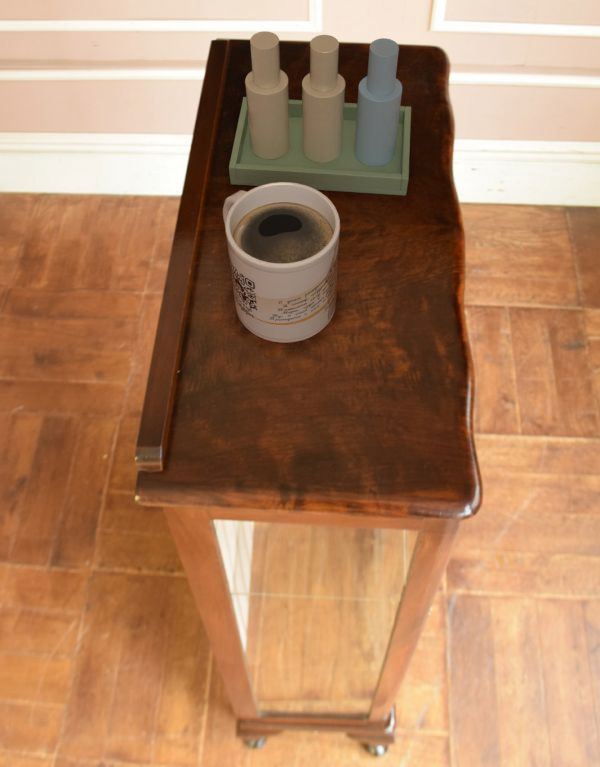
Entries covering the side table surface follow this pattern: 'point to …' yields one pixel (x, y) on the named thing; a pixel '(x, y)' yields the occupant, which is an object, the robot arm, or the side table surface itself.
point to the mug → (283, 259)
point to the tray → (322, 176)
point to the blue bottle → (378, 106)
